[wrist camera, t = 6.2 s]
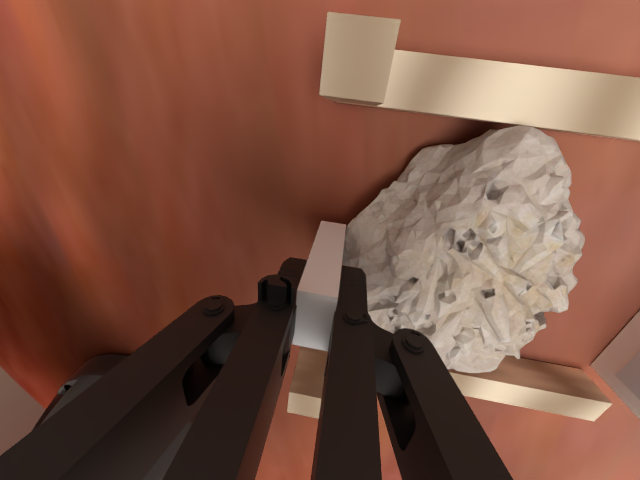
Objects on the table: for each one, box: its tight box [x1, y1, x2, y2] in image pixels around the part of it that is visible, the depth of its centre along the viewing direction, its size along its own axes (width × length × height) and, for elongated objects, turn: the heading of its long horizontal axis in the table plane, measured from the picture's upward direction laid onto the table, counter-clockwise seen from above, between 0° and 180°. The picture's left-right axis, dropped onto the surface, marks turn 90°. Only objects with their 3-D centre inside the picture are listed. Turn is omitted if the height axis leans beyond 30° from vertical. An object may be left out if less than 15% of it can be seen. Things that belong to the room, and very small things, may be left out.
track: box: [287, 12, 640, 421], centre depth 13 cm, size 20×19×6 cm
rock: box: [342, 125, 585, 373], centre depth 13 cm, size 11×11×6 cm
